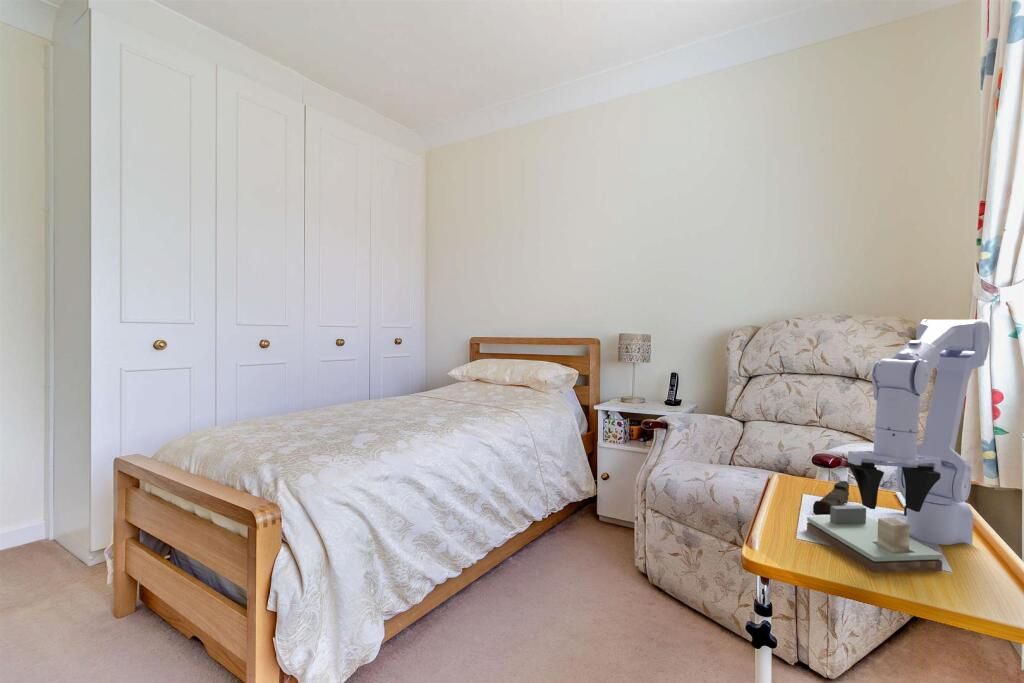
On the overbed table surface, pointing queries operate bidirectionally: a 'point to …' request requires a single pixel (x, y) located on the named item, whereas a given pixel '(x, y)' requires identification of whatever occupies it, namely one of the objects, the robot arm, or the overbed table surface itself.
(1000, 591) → the overbed table surface
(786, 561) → the overbed table surface
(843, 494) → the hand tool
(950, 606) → the overbed table surface
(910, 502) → the robot arm
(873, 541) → the lid
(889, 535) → the block
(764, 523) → the overbed table surface
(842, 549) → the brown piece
